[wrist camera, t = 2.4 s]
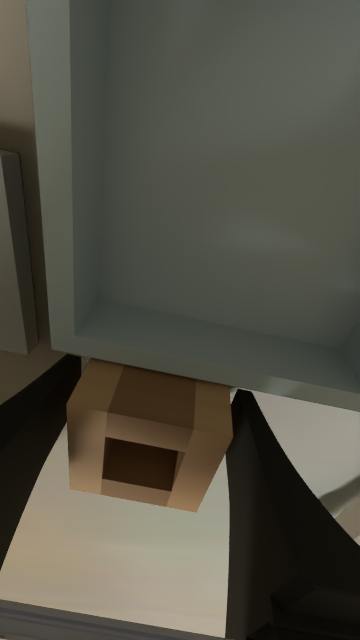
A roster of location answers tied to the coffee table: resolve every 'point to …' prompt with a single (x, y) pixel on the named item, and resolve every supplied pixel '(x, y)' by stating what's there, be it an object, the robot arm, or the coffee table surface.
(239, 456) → the robot arm
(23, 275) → the grey peg base
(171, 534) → the coffee table surface
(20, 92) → the coffee table surface
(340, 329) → the tray
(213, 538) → the coffee table surface
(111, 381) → the block
